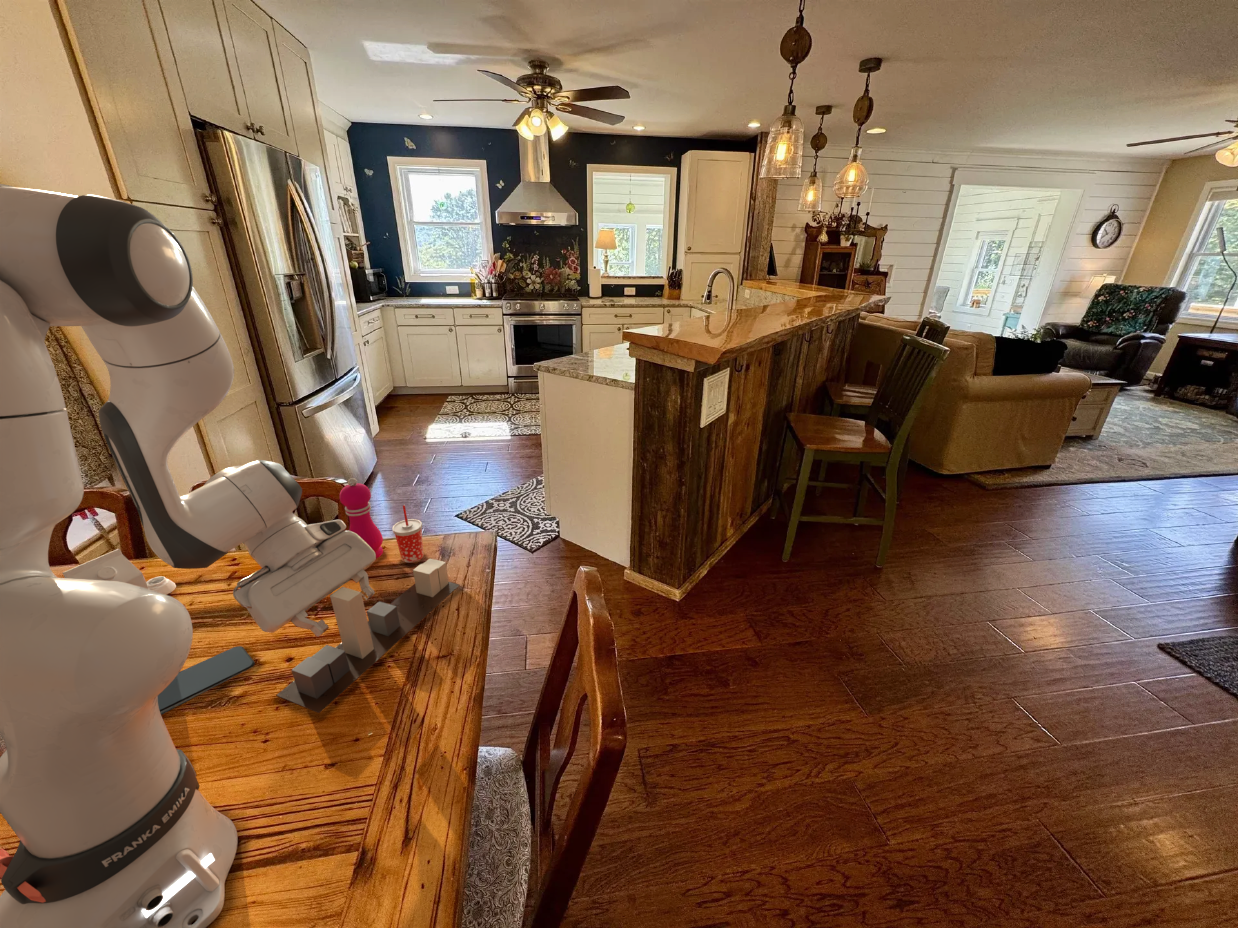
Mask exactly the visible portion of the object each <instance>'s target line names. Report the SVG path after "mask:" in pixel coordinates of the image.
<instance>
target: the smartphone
mask: <svg viewBox="0 0 1238 928" xmlns="http://www.w3.org/2000/svg"><path fill="white" fill-rule="evenodd" d="M254 666H255V661H254V659H253V658H252V656H250V654H249V653H248V651H246V649H245V647H243V646H241V645H238V646H234V647H231V648H229V649H227V650H224V651H223V652H221V653H220V652H219V653H217V654H216V655H214V656H211V657H209V658H207V659H205V660H202V661H200V662H198V663H196V664H194V665H191V666H189V667H186V668H184V669H183V670H180V672H179V673H178V675H177V676H176V677H175V679H174V680H173V681H172V682H171V683H170V684H169V685H168V686H167V687H166V688H165V689H164V690H163V691H162V692H161V693H160V694H159V695H158V706H159V710H160V714H161V715H164V714H166V713H167V712H169V711H171V710H173V709H175V708H176V707H179V706H181V705H183V704H185V703H188V702H189V701H191V700H192V699H194V698H196V697H198V696H200V695H202V694H204V693H206V692H208V691H209V690H211V689H213V688H215V687H217V686H219V685H221V684H223V683H224V682H227V681H229V680H231V679H232V678H235V677H237V676H238V675H241V674H242V673H244V672H246V671H248V670H250V669H252V668H253V667H254Z"/></svg>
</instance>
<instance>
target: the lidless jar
mask: <svg viewBox="0 0 1238 928" xmlns="http://www.w3.org/2000/svg"><path fill="white" fill-rule="evenodd" d="M146 583H147V585H148V588H149V589H150V590H153V591H156V592H159V593H162V594H165V595H169V594H171V593H172V592H173V591H175V590H176V588H177V585H176V583H175V581H172V580H171V579H169V578H167V577H165V576H162V575H160V576H155V577H152V578H150V579H149V580H146Z"/></svg>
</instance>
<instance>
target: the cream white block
mask: <svg viewBox="0 0 1238 928" xmlns="http://www.w3.org/2000/svg"><path fill="white" fill-rule="evenodd" d="M447 568H448V567H447V562H446V561H443V560H438V559H434V558H428V559H427V560H425V562H423V563H420V564H419V565H418V566H416V567H415V568H414V569H412V574H413V581H414V584H415V586H416V591H417V593H419V594H423V595H427V596H430V597H434V596H435V595H436V594H437V593H438V592H439V591H440V590H442V589H443V588H444V587H445V586H446V585H447V584H448V583H449V582H450V581H449V575H448V569H447Z"/></svg>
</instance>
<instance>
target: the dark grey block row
mask: <svg viewBox="0 0 1238 928" xmlns="http://www.w3.org/2000/svg"><path fill="white" fill-rule="evenodd" d="M366 616H367V621H369V624H370V628H371V631H373V632H377V633H380V634H383V635H386V636H389V635H390V634H391V633H393V632H394V631H395V630H396V629H397V628H398V627H399V626H400V622H399V617H398V611H397V607H396V606H393V605H390V603H386V602H383V601H378V602H376V603H375V604H374V605H373V606H371V607H370V608H369V609H367V610H366ZM349 670H350V668H349V664H348V660H347V656H346V653H345V651H343V650H340V649H337V648H336V646H335V647H334V646H331V645H328V644H326V645H324V646H323V647H321V648H320V650H318V651H317V652H315V653H314V654H313V655H312V656H307V657H306V658H305V659H303V660H302V661H301V662H299V663H298V664H297V665H296V666H294V667H293V668H292V669H291V670H290V671H291V674H292V677H293V681H294V680H295V683H296V686H297V690H298V692H301V693H304V694H306V695H309V696H311V697H314V698H316V699H317V698H319V697H320V696H321V695H322V694H323V693H324V692H325V691H327V690H328V689H329V688H330V687H331V686H332V685H333V683H336V682H337V681H338V680H339V679H340V678H341V677H342V676H344V675H345V674H346V673H347V672H348V671H349Z"/></svg>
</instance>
